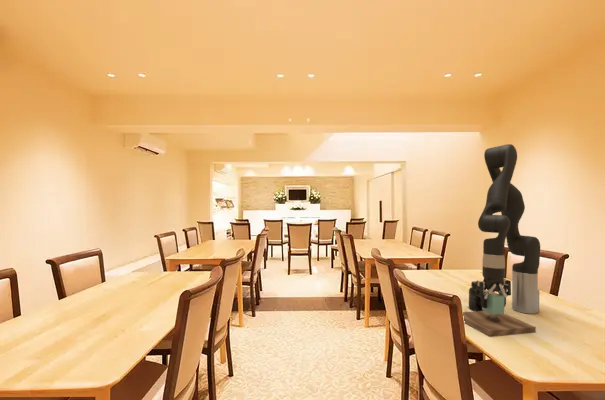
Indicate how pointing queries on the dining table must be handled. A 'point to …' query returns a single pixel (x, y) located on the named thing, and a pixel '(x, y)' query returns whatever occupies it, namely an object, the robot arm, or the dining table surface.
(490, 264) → the robot arm
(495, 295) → the green cube with circle
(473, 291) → the supplement bottle
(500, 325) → the brown wooden board
